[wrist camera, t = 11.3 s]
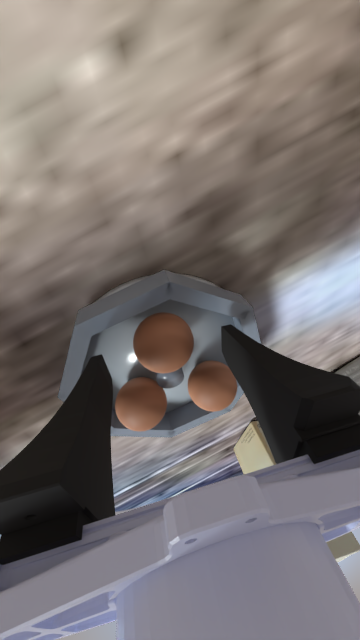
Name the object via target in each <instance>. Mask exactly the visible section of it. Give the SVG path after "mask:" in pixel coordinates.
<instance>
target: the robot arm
mask: <svg viewBox="0 0 360 640" xmlns="http://www.w3.org/2000/svg"><path fill="white" fill-rule="evenodd" d="M221 348H222V354H223V356H224V358H225V361H226V363H227V365H228V367H229V368H230V370H231V372H232V373H233V375H234V377H235V378H236V380H237V382H238V383H239V385H240V387H241V388H242V390H243V392H244V393H245V395H246V397H247V399H248V401H249V403H250V405H251V407H252V409H253V411H254V413H255V415H256V418H257V420H258V422H259V424H260V427H261V429H262V431H263V433H264V436H265V438H266V441H267V443H268V445H269V448H270V450H271V453H272V455H273V458H274V460H275V463H276V465H273V466H269V467H266V468H263V469H260V470H257V471H254V472H250V473H247V474H244V475H241V476H236V477H233V478H229V479H226V480H223V481H220V482H217V483H214V484H211V485H207V486H204V487H201V488H198V489H195V490H192V491H188V492H185V493H183V494H180V495H178V496H175V497H172V498H169V499H165V500H162V501H159V502H156V503H153V504H150V505H146V506H143V507H140V508H137V509H134V510H131V511H128V512H124V513H121V514H118V515H115V507H114V495H113V481H112V464H111V419H112V404H113V385H112V377H111V375H110V372H109V370H108V368H107V365H106V363H105V360H104V358H103V356H102V354H101V355H97V356H92V357H91V358H90V359H89V361H88V363H87V365H86V367H85V369H84V371H83V372H82V374H81V376H80V378H79V380H78V381H77V383H76V385H75V386H74V388H73V390H72V391H71V393H70V394H69V396H68V397H67V399H66V400H65V402H64V403H63V405H62V406H61V407H60V409H59V410H58V411H57V413H56V414H55V415H54V417H53V418H52V419H51V420H50V421H49V423H48V424H47V425H46V426H45V427H44V428H43V429H42V430H41V432H40V433H39V434H38V435H37V436H36V437H35V438H34V439H33V440H32V441H31V442H30V443H29V444H28V445H27V446H26V447H25V448H24V449H23V450H22V451H21V452H20V453H19V454H18V455H17V456H16V457H15V458H14V459H13V460H11V461H10V462H9V463H8V464H7V465H6V466H5V467H4V468H2V469H1V470H0V534H1V535H2V536H1V539H0V640H56V639H59V638H62V637H66V636H69V635H72V634H75V633H78V632H82V631H85V630H88V629H91V628H94V627H98V626H101V625H104V624H107V623H110V622H114V621H116V640H360V603H359V601H358V599H357V597H356V596H355V594H354V592H353V590H352V588H351V587H350V585H349V583H348V581H347V580H346V578H345V576H344V574H343V572H342V570H341V569H340V567H339V565H338V563H337V561H336V560H335V558H334V556H333V554H332V552H331V551H330V549H329V547H328V545H327V543H326V542H328V541H330V540H333V539H335V538H337V537H339V536H342V535H344V534H346V533H349V532H351V531H353V530H355V529H358V528H360V415H359V414H358V413H359V411H360V386H359V385H358V384H357V383H355V382H354V381H353V380H352V379H351V378H350V377H348V376H344V375H340V374H336V373H332V372H328V371H324V370H321V369H317V368H314V367H311V366H308V365H305V364H302V363H300V362H297V361H295V360H292V359H290V358H287V357H285V356H283V355H281V354H279V353H277V352H275V351H273V350H271V349H269V348H267V347H265V346H263V345H262V344H260V343H258V342H257V341H255V340H254V339H252V338H250V337H249V336H247V335H246V334H244V333H243V332H241V331H240V330H238V329H237V328H236V327H234V326H233V325H231V324H229V325H225V326H221Z"/></svg>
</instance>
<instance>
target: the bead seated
mask: <svg viewBox="0 0 360 640" xmlns="http://www.w3.org/2000/svg"><path fill="white" fill-rule="evenodd" d="M188 392H189V395H190V397H191V399H192V400H193V402H194V403H195V404H196V405H197V406H198V407H200V408H202V409H204V410H206V411H212V412H215V411H220V410H223V409H225V408H227V407H228V406H229V405H230V404H231V403H232V402H233V400H234V398H235V396H236V393H237V381H236V378H235V377H234V375H233V373H232V372H231V370H230V368H229V367H228V366H226V365H225V364H223V363H221V362H219V361H213V360H210V361H204V362H202V363H200V364H198V365H197V366H196V367H195V368H194V369H193V370H192V371H191V373H190V375H189V378H188Z"/></svg>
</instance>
